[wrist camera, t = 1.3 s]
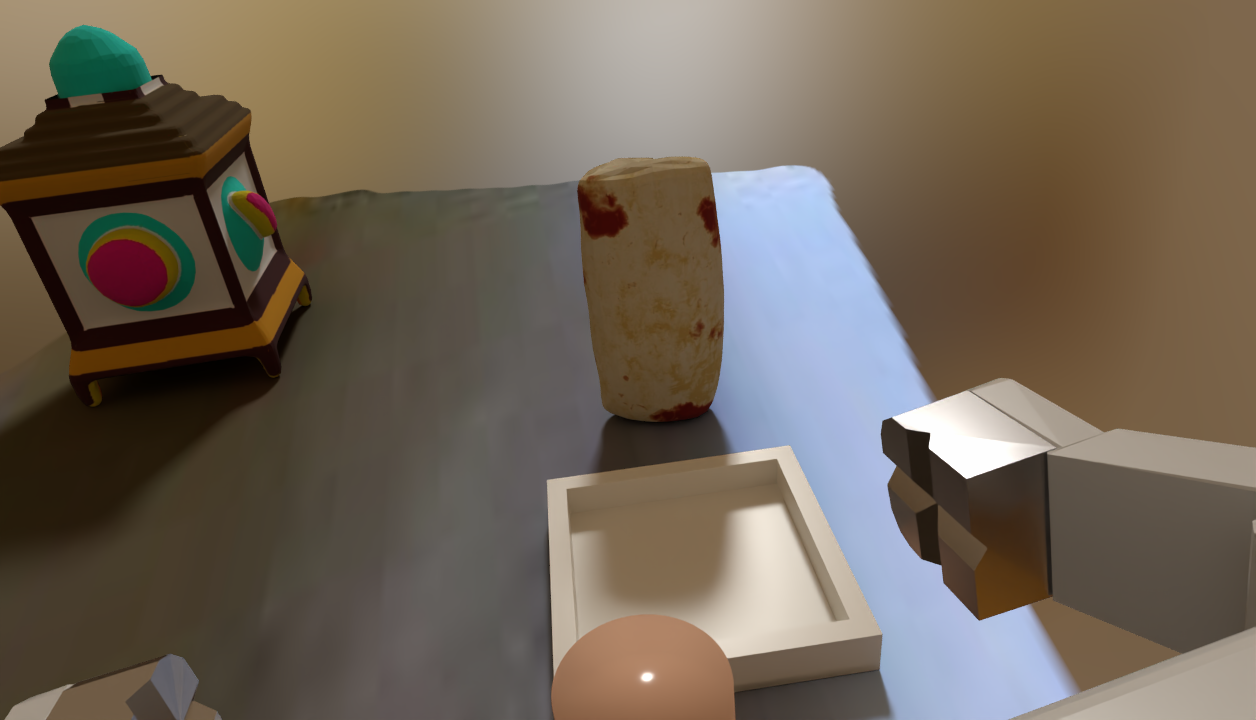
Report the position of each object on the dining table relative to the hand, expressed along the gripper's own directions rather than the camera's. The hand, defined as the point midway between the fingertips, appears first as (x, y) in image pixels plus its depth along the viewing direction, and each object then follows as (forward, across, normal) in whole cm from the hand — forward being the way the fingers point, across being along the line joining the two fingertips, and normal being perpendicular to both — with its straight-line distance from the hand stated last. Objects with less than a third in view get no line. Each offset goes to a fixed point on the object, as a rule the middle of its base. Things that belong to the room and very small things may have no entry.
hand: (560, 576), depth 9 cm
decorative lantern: (+74, +30, +16) cm, 82 cm away
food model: (+48, -8, +23) cm, 54 cm away
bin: (+30, -5, +25) cm, 40 cm away
